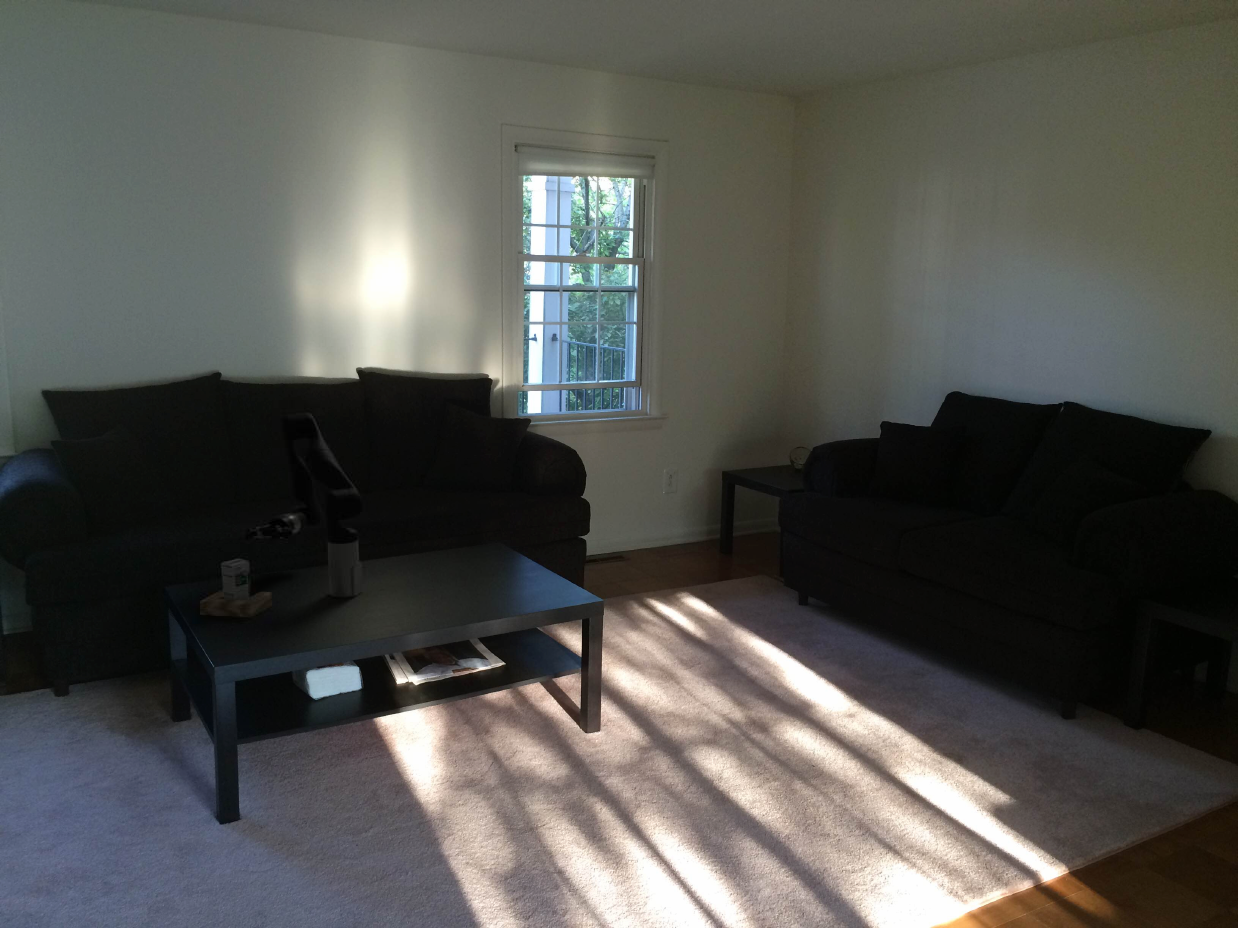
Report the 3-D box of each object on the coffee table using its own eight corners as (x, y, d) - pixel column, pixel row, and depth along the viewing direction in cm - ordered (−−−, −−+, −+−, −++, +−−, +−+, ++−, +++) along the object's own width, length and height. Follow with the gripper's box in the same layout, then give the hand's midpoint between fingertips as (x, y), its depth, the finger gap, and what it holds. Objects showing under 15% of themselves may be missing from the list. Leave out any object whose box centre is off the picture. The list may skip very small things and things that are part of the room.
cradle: (271, 604, 298) (271, 592, 297) (251, 617, 286) (250, 604, 286) (222, 602, 300) (221, 589, 300) (200, 614, 289) (199, 601, 288)
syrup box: (236, 612, 291) (233, 564, 289) (223, 608, 294) (220, 561, 292) (252, 607, 296) (249, 560, 293) (240, 603, 299) (237, 557, 296)
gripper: (263, 514, 323) (237, 525, 307) (304, 515, 321) (280, 525, 305) (264, 537, 324) (239, 548, 308) (305, 537, 322) (281, 549, 306)
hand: (259, 537), depth 307 cm, fingers open, 8 cm apart
